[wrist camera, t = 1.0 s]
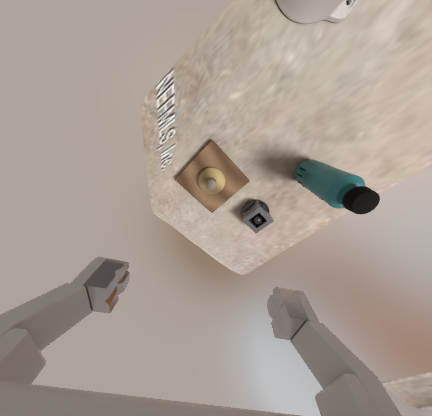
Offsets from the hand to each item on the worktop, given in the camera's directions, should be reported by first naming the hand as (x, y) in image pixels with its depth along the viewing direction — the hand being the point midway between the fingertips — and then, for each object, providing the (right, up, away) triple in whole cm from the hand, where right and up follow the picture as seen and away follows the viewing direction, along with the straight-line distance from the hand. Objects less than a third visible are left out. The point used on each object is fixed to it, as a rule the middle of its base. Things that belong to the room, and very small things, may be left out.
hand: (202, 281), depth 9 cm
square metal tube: (+12, +3, +38) cm, 40 cm away
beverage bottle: (+24, +14, +33) cm, 43 cm away
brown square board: (0, +12, +34) cm, 37 cm away
